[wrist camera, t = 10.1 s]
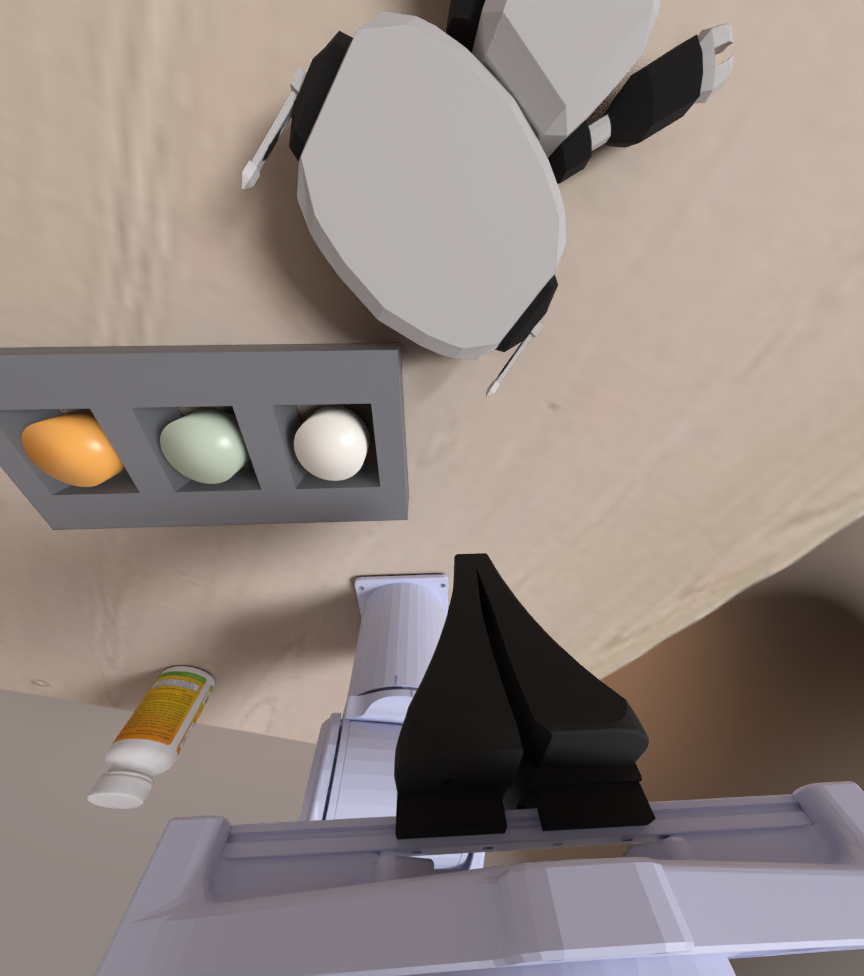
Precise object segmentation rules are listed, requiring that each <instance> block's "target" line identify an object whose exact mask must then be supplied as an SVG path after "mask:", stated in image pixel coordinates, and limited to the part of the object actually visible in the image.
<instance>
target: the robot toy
mask: <svg viewBox="0 0 864 976" xmlns="http://www.w3.org/2000/svg"><path fill="white" fill-rule="evenodd" d="M660 4H661V0H451V5H450V11H449V17H448V23H447V29H446V33H447V34H446V33H445V32H443V31H442V30H441V29H439V28H438V27H437V26H435V25H433V24H431V23H429V22H427V21H425V20H423V19H421V18H419V17H417V16H412V15H405V14H398V13H391V12H383V11H382V12H381V13H380V14H378V15H377V16H376V17H374V18H373V19H372V20H370V21H369V22H368V23H366V24H365V25H363V26H362V27H361V28H359V29H358V30H357V32H356V34H355V36H354V38H352V37H350V36H348V35H346V34H344V33H342V32H341V31H339V32H338V33H337V34H336V35H335V36H334V38H333V39H332V40H331V41H330V42H329V43H328V44H327V46H326V47H325V48H324V49H323V50H322V51H321V52H320V53H319V54H317V55H316V56H315V57H314V58H313V60H312V62H311V65H310V67H309V69H308V72H307V73H306V72H305V71H304V70H303V69H302V68H301V66H300V67H299V68H298V70H297V72H296V74H295V75H294V77H293V79H292V81H291V82H290V85H291V90H292V92H291V94H290V96H289V98H288V99H287V101H286V103H285V104H284V106H283V108H282V110H281V111H280V113H279V115H278V117H277V118H276V120H275V122H274V123H273V125H272V127H271V129H270V130H269V132H268V134H267V136H266V137H265V139H264V141H263V142H262V144H261V146H260V148H259V149H258V151H257V153H256V154H255V156H254V158H253V160H252V161H250V160H249V162H248V163H247V165H246V167H245V169H244V170H243V172H242V190H243V189H247V188H251V187H254V185H255V183H256V181H257V180H258V178H259V176H260V173H259V172H260V170H261V168H262V166H263V165H264V163H265V161H266V160H267V158H268V156H269V154H270V153H271V151H272V149H273V148H274V146H275V144H276V142H277V141H278V139H279V137H280V136H281V134H282V132H283V130H284V129H285V127H286V125H287V124H288V122H289V120H290V118H291V117H292V123H291V134H290V145H289V147H290V149H291V150H292V152H293V154H294V155H295V157H296V158H297V160H298V161H299V163H298V182H297V200H298V203H299V205H300V208H301V211H302V213H303V216H304V219H305V221H306V224H307V227H308V229H309V232H310V234H311V236H312V237H313V239H314V241H315V243H316V244H317V246H318V248H319V249H320V251H321V252H322V254H323V255H324V256H325V258H326V259H327V261H328V262H329V263H330V265H331V266H332V268H333V269H334V270H335V272H336V273H337V274H338V276H339V277H340V278H341V279H342V281H343V282H344V283H345V284H346V285H347V286H348V287H349V288H350V289H351V291H352V292H353V293H354V294H355V295H356V296H357V297H358V298H359V300H360V301H361V302H362V303H363V304H364V305H365V306H366V307H367V308H368V310H369V311H370V312H371V313H372V314H373V315H374V316H375V317H376V318H377V320H379V321H380V322H382V323H384V324H385V325H387V326H389V327H390V328H392V329H394V330H395V331H397V332H398V333H400V334H402V335H403V336H405V337H407V338H408V339H410V340H412V341H413V342H415V343H417V344H418V345H420V346H422V347H424V348H427V349H429V350H431V351H433V352H436V353H438V354H440V355H443V356H446V357H450V358H453V359H474V360H476V359H478V358H480V357H482V356H484V355H485V354H487V353H489V352H491V351H493V350H494V349H495V350H498V351H502V352H505V351H507V350H509V349H510V348H512V347H514V346H515V345H517V344H519V343H520V342H521V344H520V345H519V346H518V348H517V349H516V351H515V352H514V354H513V355H512V356H511V358H510V359H509V361H508V362H507V364H506V365H505V366H504V368H503V369H502V371H501V372H500V374H499V375H498V377H497V378H496V379H495V381H493V382H492V383H491V385H490V386H489V387H488V389H487V393H486V398H487V397H488V396H490V395H492V394H493V393H495V391H496V390H497V388H498V387H499V385H500V384H499V383H500V382H501V381H502V379H503V378H504V376H505V375H506V373H507V372H508V371H509V369H510V368H511V366H512V365H513V363H514V362H515V361H516V359H517V358H518V356H519V355H520V353H521V352H522V351H523V349H524V348H525V346H526V345H527V343H528V342H529V341H530V339H531V338H533V337H535V336H536V335H537V334H538V332H539V331H540V330H541V328H542V327H543V324H542V323H541V322H540V320H541V319H542V317H543V316H544V315H545V314H546V312H547V310H548V307H549V305H550V302H551V300H552V298H553V295H554V293H555V291H556V289H557V287H558V283H557V280H556V277H555V272H556V269H557V267H558V264H559V262H560V259H561V256H562V254H563V251H564V248H565V246H566V243H567V239H566V222H565V209H564V205H563V201H562V197H561V193H560V190H559V187H558V184H559V183H561V182H563V181H564V180H566V179H568V178H569V177H571V176H572V175H574V174H576V173H577V172H579V171H581V170H582V169H584V167H585V166H586V164H587V163H588V161H589V159H590V158H591V153H592V151H593V150H595V149H596V148H598V147H599V146H601V145H603V144H604V145H608V146H614V147H628V146H631V145H635V144H638V143H640V142H642V141H643V140H645V139H646V138H648V137H650V136H651V135H653V134H655V133H656V132H658V131H660V130H661V129H663V128H665V127H666V126H668V125H670V124H671V123H673V122H674V121H676V120H678V119H679V118H681V117H683V116H684V114H685V113H686V112H687V111H688V110H689V109H690V107H691V106H692V105H693V104H694V103H705V102H706V101H707V100H708V99H709V98H710V97H712V96H713V95H714V94H715V93H716V92H717V91H718V90H719V89H720V88H721V87H722V86H723V85H724V83H725V82H726V80H727V79H728V77H729V76H730V73H731V70H732V67H733V54H732V56H731V57H730V58H729V59H728V60H726V61H725V62H723V63H722V64H721V65H719V66H718V67H716V68H715V55H716V54H718V53H721V52H723V51H724V50H725V48H726V47H727V46H729V45H730V44H732V43H733V30H732V28H731V25H730V23H727V24H722V25H718V26H715V27H712V28H708V29H705V30H702V31H701V32H700V34H699V35H698V36H697V35H695V36H693V37H692V38H690V39H688V40H687V41H685V42H683V43H681V44H680V45H678V46H676V47H675V48H673V49H672V50H670V51H669V52H667V53H666V54H664V55H662V56H661V57H659V58H658V59H656V60H655V61H653V62H652V63H650V64H648V65H647V66H645V67H644V68H642V69H641V70H639V71H637V72H636V73H634V74H633V75H631V76H630V78H629V79H628V81H627V82H626V83H625V85H624V86H623V87H622V89H621V90H620V92H619V93H618V94H617V96H616V97H615V99H614V100H613V101H612V103H611V105H610V106H609V108H608V109H607V111H606V112H605V114H604V115H603V117H602V118H600V119H598V120H597V121H595V122H594V123H592V124H590V125H589V126H588V124H587V121H586V120H587V118H588V117H589V116H590V115H591V114H592V113H593V112H594V111H595V109H596V108H597V107H598V106H599V105H600V104H601V103H602V101H603V100H604V99H605V98H606V97H607V96H608V95H609V94H610V92H611V91H612V90H613V89H614V88H615V86H616V85H617V84H618V83H619V82H620V80H621V79H622V78H623V77H624V76H625V74H626V73H627V72H628V71H629V70H630V69H631V67H632V66H633V65H634V64H635V63H636V61H637V60H638V59H639V58H640V57H641V55H642V53H643V51H644V49H645V46H646V44H647V42H648V39H649V37H650V35H651V33H652V30H653V28H654V26H655V23H656V21H657V19H658V16H659V10H660Z"/></svg>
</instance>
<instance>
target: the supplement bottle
mask: <svg viewBox="0 0 864 976" xmlns="http://www.w3.org/2000/svg"><path fill="white" fill-rule="evenodd" d="M214 686H215V680H214V678H213V677H212V676H211V675H210V674H208V673H207V672H205V671H203V670H200V669H197V668H194V667H189V666H175V667H171V668H168V669H166V670H164V671H163V672H162V673H161V675H160V676H159V677H158V679H157V680H156V682H155V683H154V684H153V686H152V687H151V689H150V690H149V692H148V693H147V695H146V696H145V698H144V699H143V701H142V702H141V703H140V705H139V706H138V708H137V709H136V710H135V712H134V713H133V715H132V717H131V718H130V719H129V721H128V722H127V724H126V725H125V727H124V728H123V729H122V731H121V732H120V734H119V735H118V736H117V738H116V739H115V741H114V742H113V744H112V746H111V747H110V748H109V750H108V752H107V754H106V757H105V762H106V764H107V766H108V767H109V770H108V771H107V772H106V773H104V774H102V775H101V777H100V778H99V779H98V781H97V782H96V784H95V785H94V787H93V788H92V790H91V791H90V793H89V794H88V796H87V800H88V801H89V802H91V803H93V804H96V805H99V806H103V807H110V808H118V809H126V808H135V807H138V806H140V805H142V803H143V802H144V800H145V798H146V796H147V795H148V793H149V791H150V790H151V788H152V785H153V783H154V781H153V778H154V776H155V775H158V774H161V773H162V772H165V771H166V770H167V769H168V768H170V767H171V766H172V764H173V763H174V761H175V760H176V758H177V756H178V755H179V753H180V751H181V749H182V747H183V745H184V743H185V741H186V739H187V738H188V736H189V734H190V732H191V730H192V728H193V726H194V724H195V723H196V721H197V719H198V717H199V715H200V713H201V711H202V709H203V708H204V706H205V704H206V702H207V700H208V698H209V696H210V694H211V692H212V690H213V688H214Z"/></svg>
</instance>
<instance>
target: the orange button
mask: <svg viewBox="0 0 864 976" xmlns="http://www.w3.org/2000/svg"><path fill="white" fill-rule="evenodd" d="M22 445H23V447H24V450H25V452H26V453H27V455H28V456H29V458H30V459H31V460H32V461H33V462H34V463H35V464H36V465H37V466H38V467H39V468H40V469H41V470H43V471H44V472H45V473H47V474H48V475H50V476H51V477H53V478H55V479H57V480H59V481H61V482H64V483H67V484H70V485H74V486H79V487H92V486H96V485H99V484H101V483H102V482H104V481H106V480H108V479H109V478H111V477H113V476H115V475H117V474H118V473H120V472H122V471H124V470H125V469H126V468H125V467H124V465H123V463H122V462H121V460H120V458H119V457H118V455H117V453H116V452H115V450H114V448H113V447H112V445H111V443H110V442H109V440H108V438H107V436H106V435H105V433H104V431H103V430H102V428H101V426H100V425H99V423H98V421H97V420H96V418H95V416H94V415H93V413H92V412H90V411H82V410H79V411H72V412H69V413H66V414H63V415H59V416H56V417H53V418H50V419H47V420H43V421H40V422H37V423H34V424H31V425H29V426H28V427H26V428H25V430H24V431H23V433H22Z"/></svg>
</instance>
